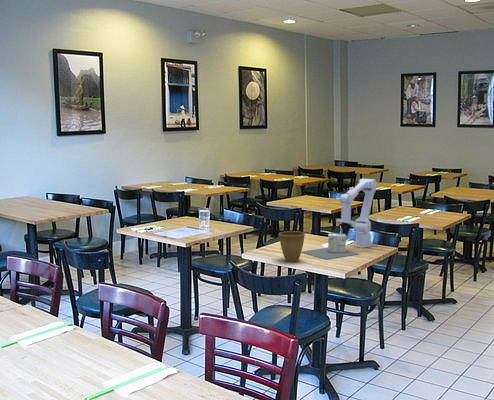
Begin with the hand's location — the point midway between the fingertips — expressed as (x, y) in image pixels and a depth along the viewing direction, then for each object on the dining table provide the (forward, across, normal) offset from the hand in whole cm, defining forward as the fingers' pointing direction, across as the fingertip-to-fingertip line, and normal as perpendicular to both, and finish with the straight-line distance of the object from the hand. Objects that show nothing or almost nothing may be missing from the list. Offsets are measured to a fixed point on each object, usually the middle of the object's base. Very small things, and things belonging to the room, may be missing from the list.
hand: (345, 235), depth 357 cm
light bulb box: (+10, 0, -7) cm, 12 cm away
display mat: (+10, 0, -13) cm, 16 cm away
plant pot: (+10, +2, -44) cm, 45 cm away
